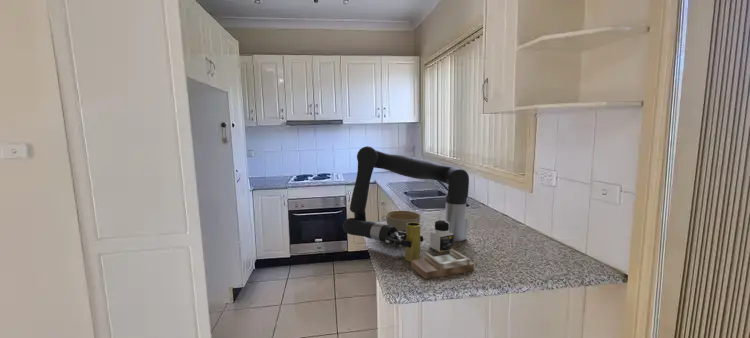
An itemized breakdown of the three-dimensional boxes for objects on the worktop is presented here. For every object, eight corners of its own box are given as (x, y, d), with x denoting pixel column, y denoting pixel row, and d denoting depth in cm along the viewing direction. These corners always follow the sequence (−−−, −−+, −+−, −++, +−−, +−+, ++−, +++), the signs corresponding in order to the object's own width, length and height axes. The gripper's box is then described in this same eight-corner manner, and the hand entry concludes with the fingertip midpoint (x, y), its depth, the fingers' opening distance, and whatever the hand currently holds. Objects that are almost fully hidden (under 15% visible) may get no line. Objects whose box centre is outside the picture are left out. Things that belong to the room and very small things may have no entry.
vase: (403, 256, 135) (404, 222, 133) (418, 256, 135) (419, 221, 134) (406, 262, 129) (407, 226, 127) (422, 262, 129) (423, 226, 127)
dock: (455, 259, 132) (456, 248, 132) (473, 270, 122) (474, 258, 122) (410, 266, 125) (411, 255, 124) (425, 279, 115) (426, 266, 114)
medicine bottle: (439, 252, 139) (440, 224, 138) (429, 247, 145) (430, 220, 144) (453, 250, 142) (454, 222, 141) (442, 244, 149) (443, 218, 147)
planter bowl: (386, 243, 150) (387, 219, 148) (384, 231, 166) (384, 210, 164) (422, 243, 150) (423, 219, 149) (417, 231, 166) (417, 210, 165)
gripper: (373, 228, 134) (407, 237, 124) (393, 220, 145) (426, 228, 135) (372, 246, 135) (406, 256, 125) (393, 237, 146) (426, 246, 136)
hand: (417, 241), depth 130 cm, fingers open, 8 cm apart
